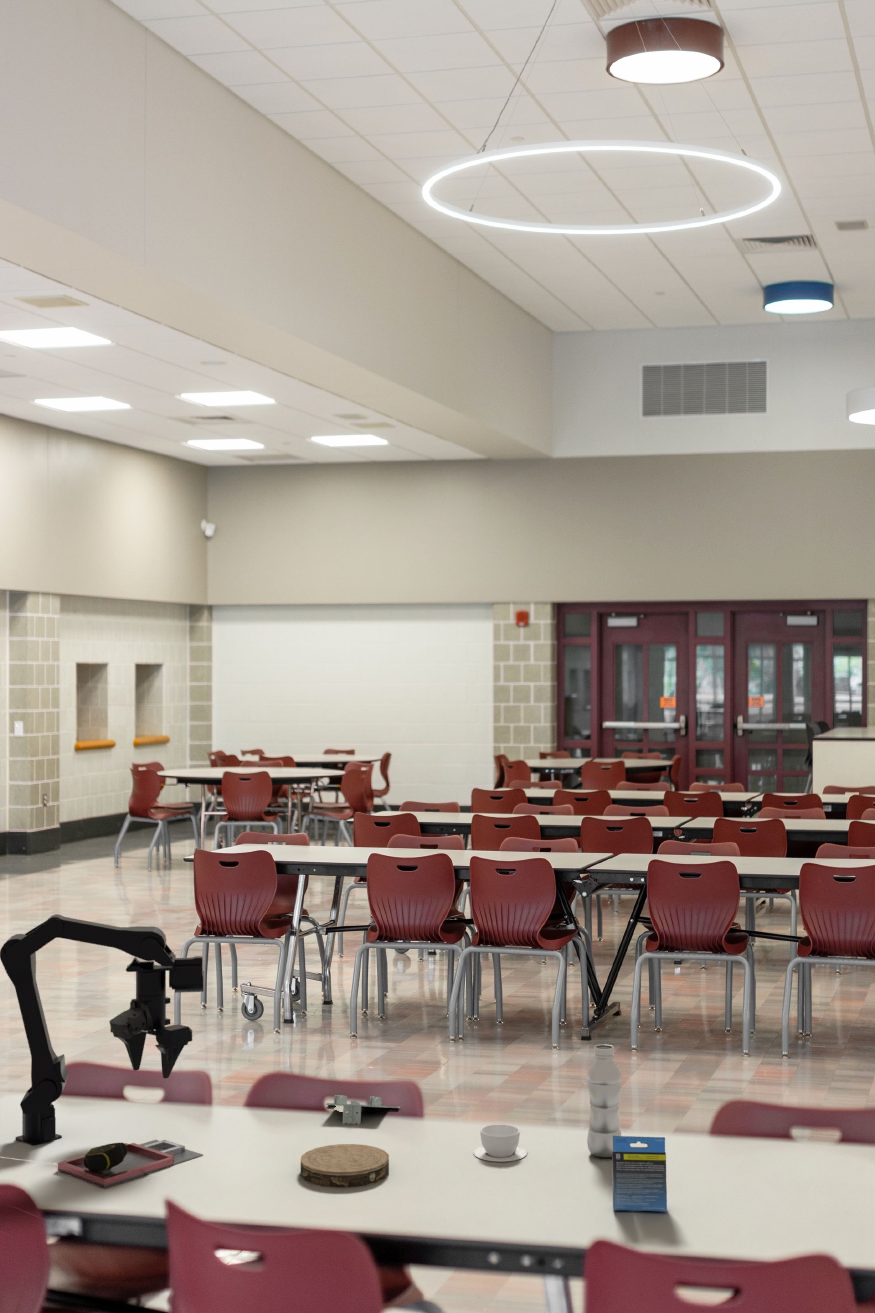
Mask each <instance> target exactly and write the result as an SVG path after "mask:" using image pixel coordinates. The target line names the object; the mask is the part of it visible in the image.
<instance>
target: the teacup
mask: <svg viewBox="0 0 875 1313" xmlns="http://www.w3.org/2000/svg"><path fill="white" fill-rule="evenodd" d="M479 1132H480V1141H481V1146H479V1147H477V1148H476V1149H474V1150H473V1152H472V1154H473V1155H474V1156H475V1157H476V1158H479V1159H481V1160H483V1161H488V1162H496V1163H497V1162H500V1163H501V1162H502V1163H503V1162H513V1161H518V1160H521V1159H523V1158H525V1157H526V1156H528V1155H527V1154H528V1152H527V1151H526V1149H524V1148H523V1147H519V1142H520V1134H521V1131H520V1128H518V1127H517V1126H514V1125H510V1124H502V1123H500V1124H498V1123H497V1124H490V1125H485V1126H483V1127H481V1128H480V1131H479ZM486 1153H487V1154H488V1155H487V1154H486Z"/></svg>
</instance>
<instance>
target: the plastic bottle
mask: <svg viewBox="0 0 875 1313" xmlns="http://www.w3.org/2000/svg"><path fill="white" fill-rule="evenodd" d="M593 1048H594V1050H593V1058H595V1059H594V1060H593V1062H592V1063H591V1065H590V1067H589V1069H588V1070H587V1075H586V1077H587V1086H588V1092H589V1094H588V1095H589V1105H590V1107H589V1108H590V1114H589V1127H588V1131H587V1139H586V1140H587V1141H586V1143H587V1149H588V1151H589V1153H590V1154H591V1155H592V1156H595V1157H599V1158H612V1151H613V1136H622V1132H621V1127H620V1126H621V1125H620V1117H619V1116H620V1115H619V1114H620V1113H619V1108H620V1107H619V1105H620V1095H621V1094H620V1092H621V1085H622V1072H621V1070H620V1068H619V1067H618V1065H617V1064H616V1062H615V1061H614V1058H615V1053H614V1051H615V1049H614V1046H613V1045H611V1044H596V1045H595V1046H593Z"/></svg>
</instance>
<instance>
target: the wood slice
mask: <svg viewBox="0 0 875 1313" xmlns="http://www.w3.org/2000/svg"><path fill="white" fill-rule="evenodd" d="M389 1158H390V1155H389V1153H388V1152H387V1151H385V1150H384V1149H382V1148H380V1147H376V1146H371V1145H368V1144H358V1143H356V1144H355V1143H342V1144H341V1143H339V1144H329V1145H324V1146H319V1147H315V1148H313V1149H311V1150H308V1151H306V1152H305V1153H303V1154H302V1155H301V1156H300V1177H301V1178H302V1180H303V1181H305V1182H306V1183H309V1184H311V1185H313V1186H318V1187H323V1188H330V1189H331V1188H332V1189H353V1188H362V1187H367V1186H370V1185H374V1184H377V1183H379V1182H381V1181H384V1180H385V1179H386V1178H388V1176H389V1174H390V1159H389Z"/></svg>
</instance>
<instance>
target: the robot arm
mask: <svg viewBox="0 0 875 1313" xmlns="http://www.w3.org/2000/svg"><path fill="white" fill-rule="evenodd" d="M58 938H59V939H65V940H69V941H70V940H71V941H75V942H81V943H86V944H93V945H97V946H101V947H102V946H103V947H109V948H112V949H113V948H114V949H117V950H119V951H122V952H124V953H126V954H128V955H130V956H132V957H133V959H132V961H131V962H130V963H129V964H127V966H126V968H125V972H127V973H133V972H134V973H135V998H131V1001H130V1003H129V1008H128V1009H127V1010H124V1011H122V1012H120V1013H119V1014H117V1015H116V1016H114V1017H113V1018H111V1019H110V1020H109V1026H110V1033H111V1034H112V1035H113V1037H114V1038H117V1039H119V1040H120V1041H121V1042H122V1043H123V1044H124V1047H125V1048H126V1051H127V1054H128V1058H129V1061H130V1064H131V1067H132V1070H133V1071H134V1072H135V1071H139V1070H140V1067H141V1064H142V1059H143V1053H144V1049H145V1043H146V1037H147V1035H150V1036H155V1041H156V1043H157V1044H155V1048H157V1050H158V1051H159V1052H160V1061H161V1072H162V1078H163V1079H168V1078H170V1075H171V1073H172V1071H173V1069H174V1067H175V1065H176V1063H177V1060H178V1059H179V1056H180V1054H181V1053H182V1051H183V1050H184V1047H185V1046H188V1044H189V1042H193V1030H192V1029H191V1027H189V1026H188V1025H187V1026H186V1025H184V1024H178V1023H177V1024H172V1025H171V1018H167V1017H166V1016H167V1011H166V1009H167V1004H171V997H168V996H167V991H166V990H167V983H166V982H167V975H166V974H167V972H168V988H170V989H171V990H174V993H176V994H178V993H179V994H181V993H182V994H183V993H203V992H205V971H204V958H203V956H201V955H199V956H198V955H197V956H196V955H195V956H193V957H192V956H191V957H177V956H176V954H175V953H174V952H173V951H172V949H171V948H170V947H169V946H168V944H167V937H166V934H165V933H164V931H163V930H162V929H161V928H159V927H156V926H141V925H139V926H128V927H127V926H122V927H121V926H115V925H110V924H105V923H101V922H94V921H88V920H83V919H78V918H73V917H67V916H63V915H62V914H53V915H51V916H49V917H48V918H47V919H46V920H45V921H44V922H42V923H40V924H39V925H37V926H35V927H34V928H32V929H31V930H28V931H27V932H26V933H16V934H14V935H12V936H11V937H9V938H8V939H7V940H6V941H5V942H4V944H3V945H2V946H1V948H0V961H1V963H2V966H3V969H4V971H5V973H6V974H7V976H8V978H9V979H10V982H11V983H12V985H13V987H14V989H15V993H16V998H17V1003H18V1006H19V1011H20V1015H21V1018H22V1023H23V1026H24V1030H25V1032H24V1033H25V1035H26V1040H27V1044H28V1048H29V1052H30V1057H31V1059H30V1062H31V1066H30V1079H31V1083H30V1084H31V1087H30V1088H29V1089H27V1091H26V1092H25V1094H24V1096H23V1098H22V1100H21V1102H20V1104H19V1105H20V1109H21V1112H22V1116H21V1117H22V1118H21V1119H22V1123H21V1124H22V1126H21V1127H22V1132H21V1133H22V1134H21V1135H19V1136H15V1141H19V1142H20V1143H21V1142H22V1143H24V1144H27V1145H30V1146H33V1147H34V1146H35V1147H36V1146H39V1145H42V1144H46V1143H49V1142H52V1141H57V1140H59V1139H62V1138H63V1135H61V1134H57V1133H56V1129H57V1126H56V1124H57V1123H56V1120H57V1119H56V1107H55V1104H53V1103H54V1102H56V1101H57V1100H58V1099H59V1098H60V1097H61V1096H62V1093H63V1091H64V1090H65V1086H66V1085H67V1079H68V1077H69V1075H70V1072H69V1070H68V1069H67V1066H66V1057H65V1054H61V1055H59V1056H57V1054H56V1052H55V1050H54V1048H53V1045H52V1042H51V1037H50V1034H49V1033H50V1032H49V1029H48V1024H47V1022H46V1021H47V1020H46V1016H45V1012H44V1009H43V1008H44V1007H43V1005H42V1000H41V996H40V992H39V987H38V983H37V978H36V977H37V974H36V973H37V955H36V954H37V953H36V952H38V951H39V950H40V949H42V948H43V947H45V946H47V945H48V944H49V943H50V942H52V941H54V940H55V939H58ZM139 959H140V960H143V961H140V960H139ZM155 962H156V963H157V964H155Z"/></svg>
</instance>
